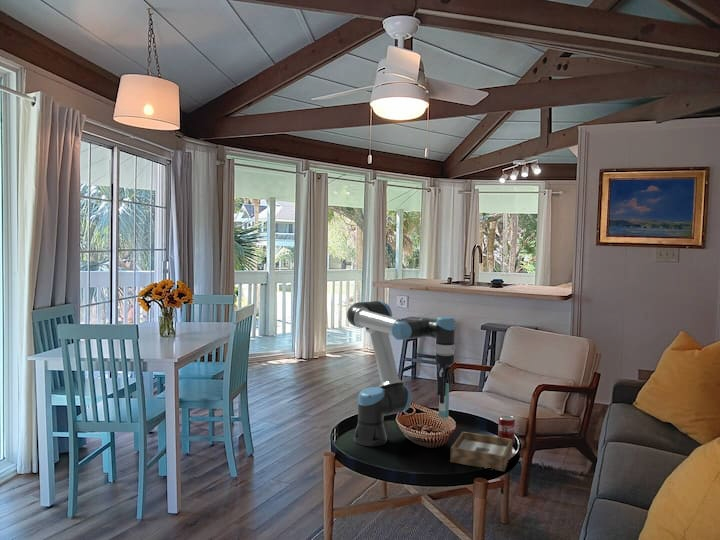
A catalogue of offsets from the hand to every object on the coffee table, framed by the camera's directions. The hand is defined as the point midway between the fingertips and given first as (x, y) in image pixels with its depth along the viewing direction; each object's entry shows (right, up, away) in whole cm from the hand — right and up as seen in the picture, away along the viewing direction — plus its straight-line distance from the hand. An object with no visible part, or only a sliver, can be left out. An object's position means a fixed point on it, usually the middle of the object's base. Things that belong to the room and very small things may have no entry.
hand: (443, 409), depth 234 cm
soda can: (+31, -21, +20) cm, 42 cm away
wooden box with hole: (+17, -21, +3) cm, 27 cm away
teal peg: (0, -3, 0) cm, 3 cm away
